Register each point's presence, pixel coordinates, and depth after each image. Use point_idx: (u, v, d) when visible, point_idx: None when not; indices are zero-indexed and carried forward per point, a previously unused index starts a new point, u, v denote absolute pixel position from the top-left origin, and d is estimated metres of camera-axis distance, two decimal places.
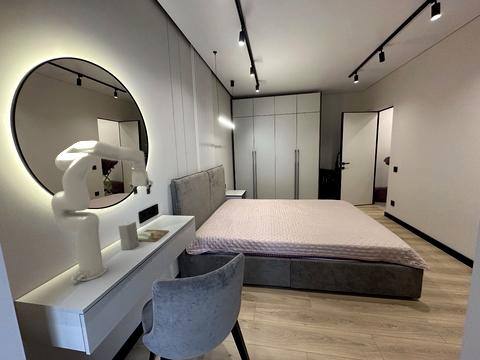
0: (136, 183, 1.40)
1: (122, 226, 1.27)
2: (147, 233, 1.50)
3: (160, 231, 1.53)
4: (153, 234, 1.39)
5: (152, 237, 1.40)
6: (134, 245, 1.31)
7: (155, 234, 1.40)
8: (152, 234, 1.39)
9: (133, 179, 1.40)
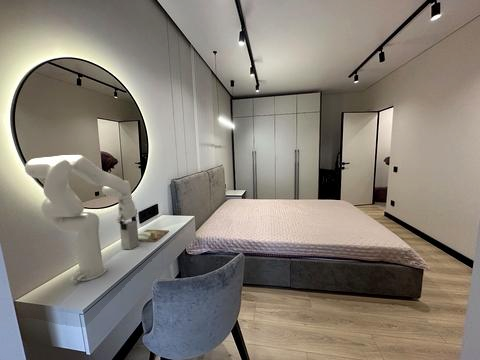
0: (129, 215, 1.28)
1: None
2: (147, 233, 1.50)
3: (160, 231, 1.53)
4: (153, 234, 1.39)
5: (152, 237, 1.40)
6: (134, 245, 1.31)
7: (155, 234, 1.40)
8: (152, 234, 1.39)
9: (127, 212, 1.26)
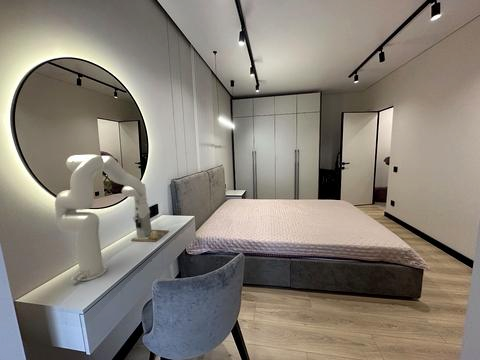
0: (144, 215, 1.42)
1: (137, 216, 1.41)
2: None
3: (160, 231, 1.53)
4: (153, 234, 1.39)
5: (152, 237, 1.40)
6: (148, 233, 1.45)
7: (155, 234, 1.40)
8: (152, 234, 1.39)
9: (142, 212, 1.40)
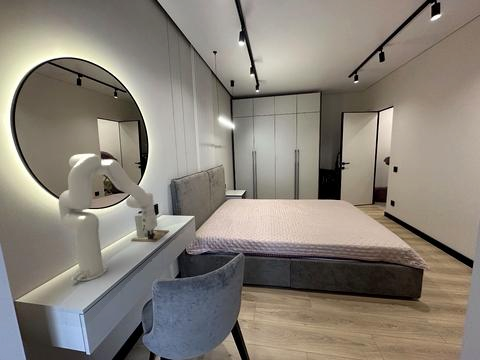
0: (152, 226, 1.34)
1: (138, 216, 1.41)
2: None
3: (160, 231, 1.53)
4: None
5: None
6: None
7: (155, 234, 1.40)
8: None
9: (149, 223, 1.32)
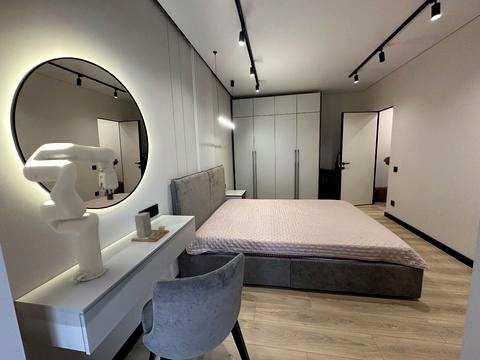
0: (110, 185, 1.25)
1: (138, 216, 1.41)
2: None
3: None
4: (161, 228, 1.49)
5: (160, 231, 1.49)
6: (148, 234, 1.45)
7: (163, 229, 1.50)
8: (160, 228, 1.49)
9: (107, 181, 1.23)
